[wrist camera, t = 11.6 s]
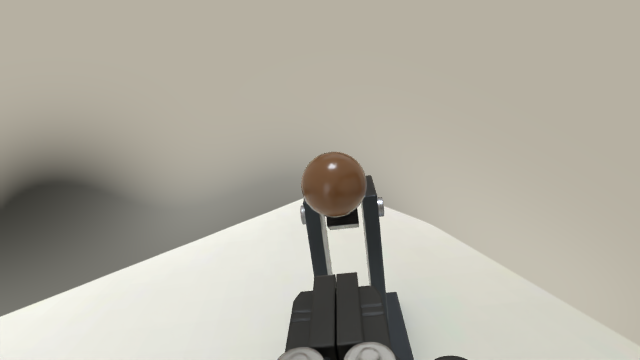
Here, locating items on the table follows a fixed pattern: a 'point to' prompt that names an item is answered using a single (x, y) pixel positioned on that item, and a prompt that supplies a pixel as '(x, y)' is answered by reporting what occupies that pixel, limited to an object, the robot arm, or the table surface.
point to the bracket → (322, 262)
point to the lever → (335, 188)
